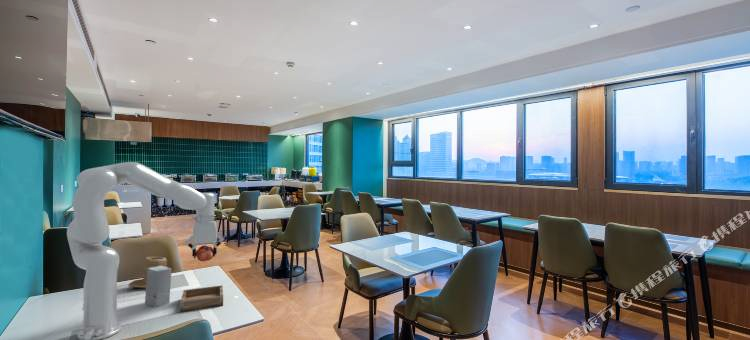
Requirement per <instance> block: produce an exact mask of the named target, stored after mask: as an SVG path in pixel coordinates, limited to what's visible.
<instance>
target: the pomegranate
mask: <svg viewBox="0 0 750 340" xmlns="http://www.w3.org/2000/svg"><path fill="white" fill-rule="evenodd" d="M196 258H197V260H198V261H199V262H207V261H210V260H212V259H213V258H214V256H213V247H212V246H208V245H207V244H203V245H201V246H200V247H198V248H197V249H196Z"/></svg>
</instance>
